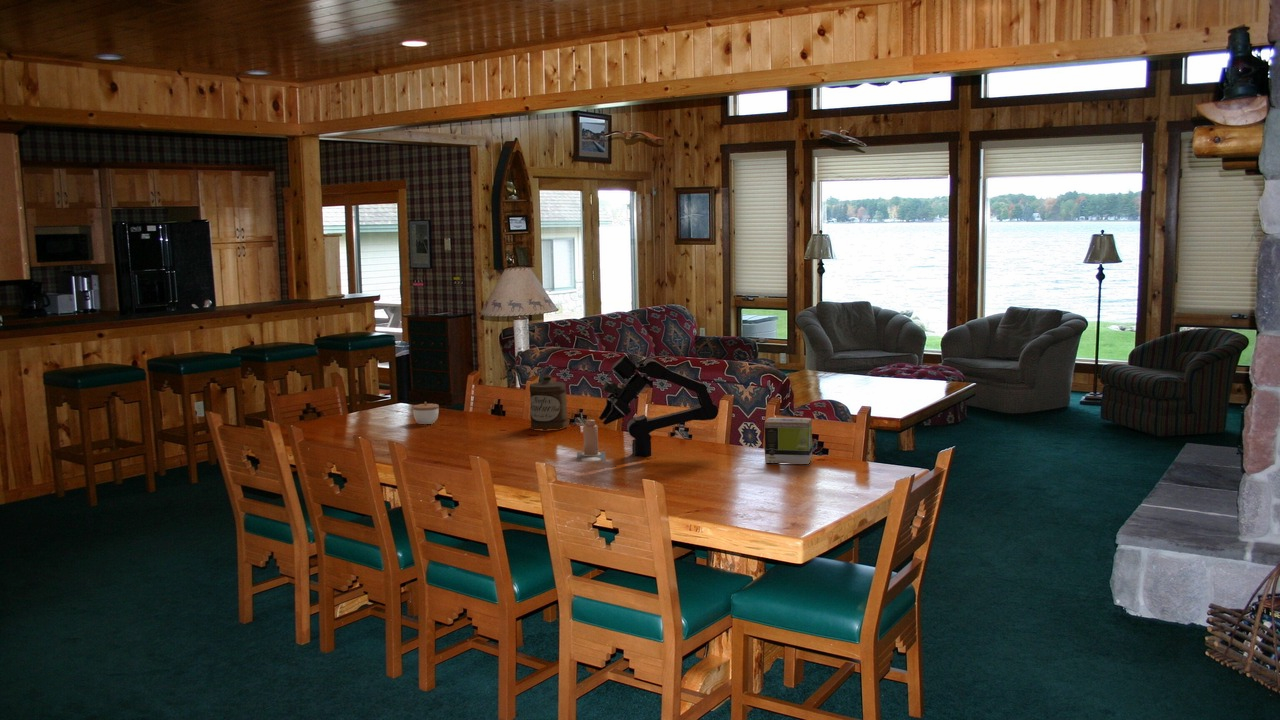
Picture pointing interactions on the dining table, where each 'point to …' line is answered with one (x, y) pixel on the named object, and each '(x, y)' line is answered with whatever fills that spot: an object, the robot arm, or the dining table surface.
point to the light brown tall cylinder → (590, 437)
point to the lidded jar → (426, 413)
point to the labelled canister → (548, 404)
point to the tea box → (788, 440)
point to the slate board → (591, 457)
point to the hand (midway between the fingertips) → (601, 421)
